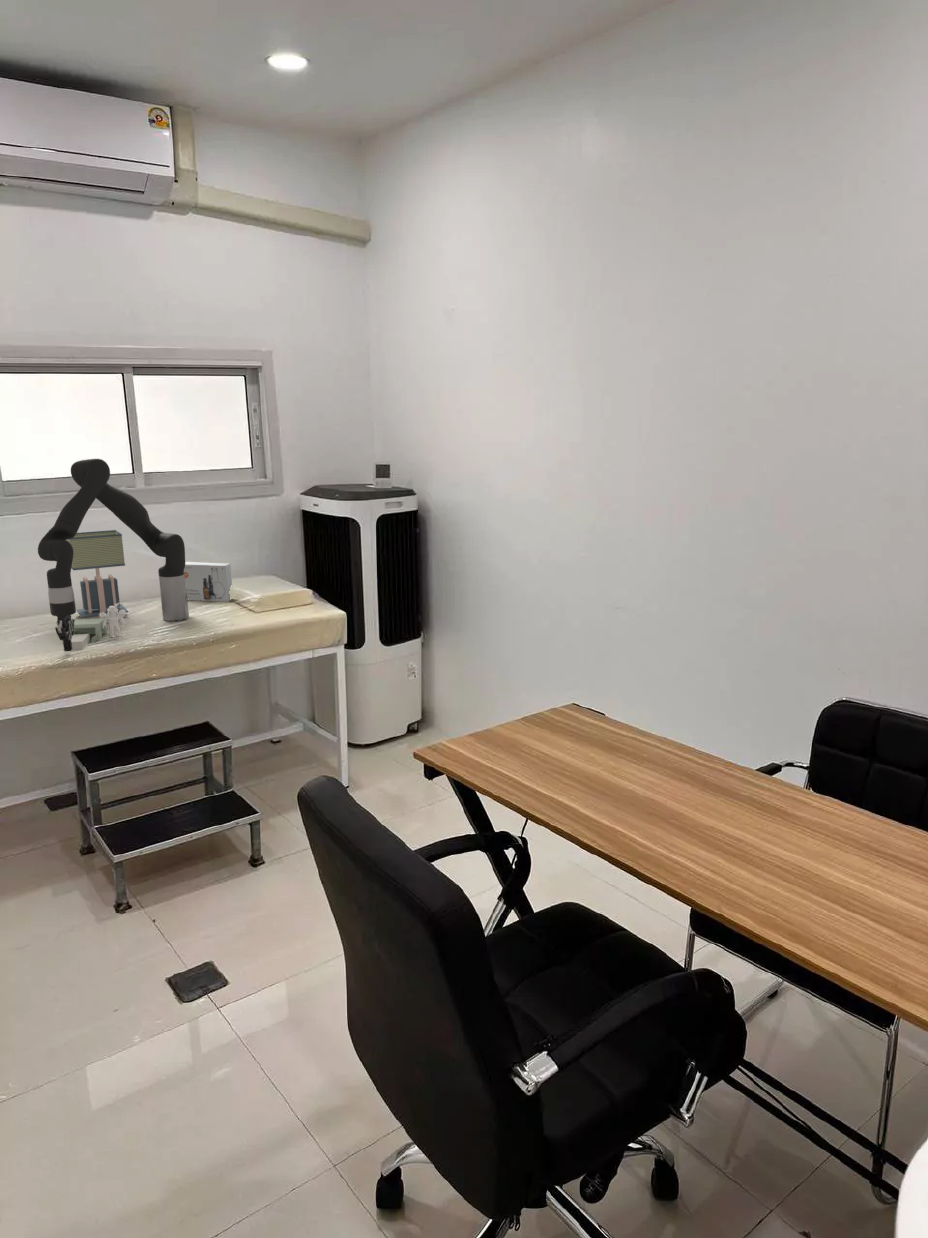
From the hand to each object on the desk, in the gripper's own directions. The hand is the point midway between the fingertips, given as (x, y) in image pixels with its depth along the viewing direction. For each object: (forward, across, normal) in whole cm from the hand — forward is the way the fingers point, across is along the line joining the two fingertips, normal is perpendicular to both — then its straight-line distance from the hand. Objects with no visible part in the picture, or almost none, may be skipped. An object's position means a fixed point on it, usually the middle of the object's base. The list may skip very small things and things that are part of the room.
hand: (68, 650), depth 274 cm
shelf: (+1, +19, 0) cm, 20 cm away
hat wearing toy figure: (+1, +20, -10) cm, 23 cm away
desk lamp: (+1, +52, +2) cm, 53 cm away
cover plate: (+2, +10, 0) cm, 11 cm away
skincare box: (+1, +76, -35) cm, 83 cm away
